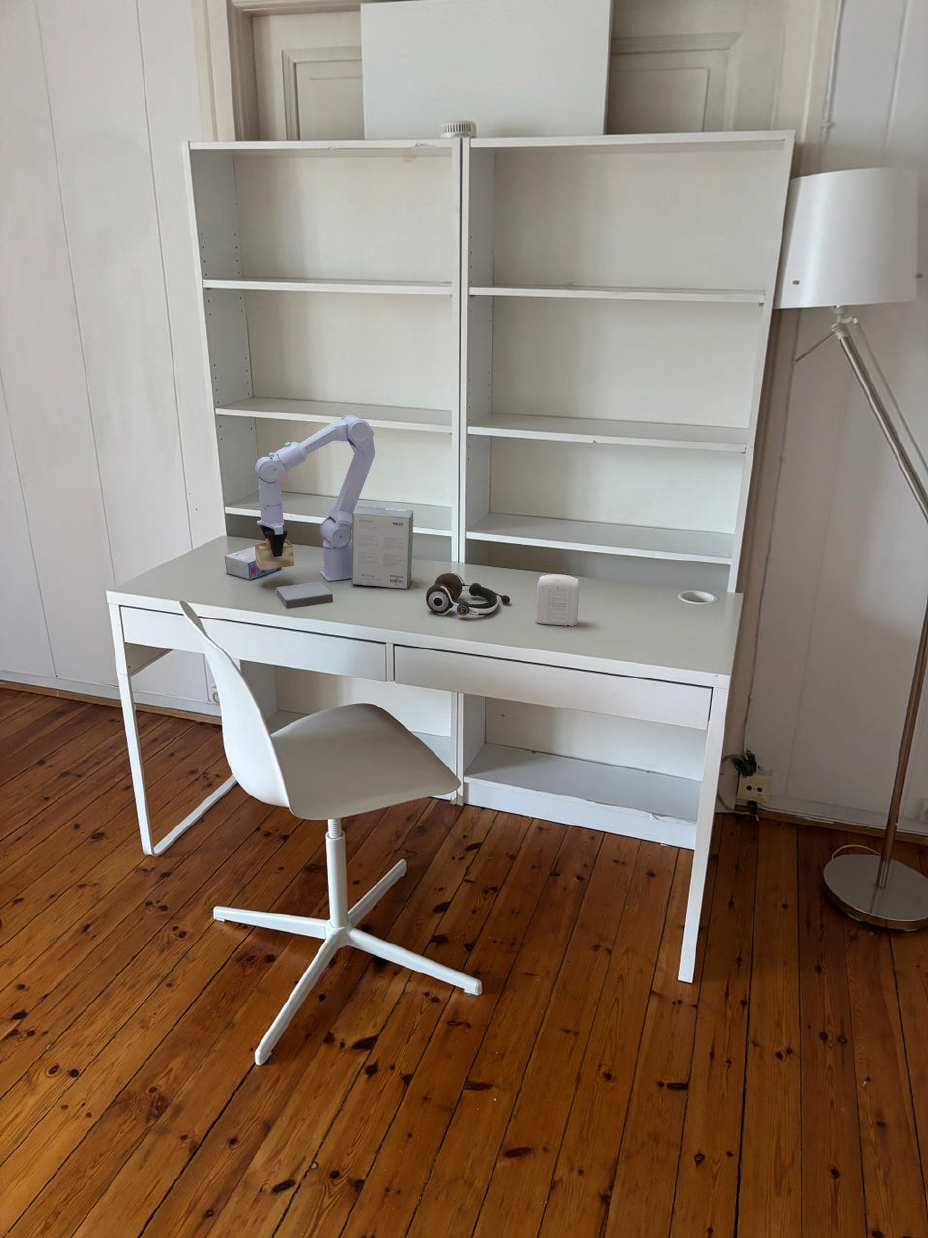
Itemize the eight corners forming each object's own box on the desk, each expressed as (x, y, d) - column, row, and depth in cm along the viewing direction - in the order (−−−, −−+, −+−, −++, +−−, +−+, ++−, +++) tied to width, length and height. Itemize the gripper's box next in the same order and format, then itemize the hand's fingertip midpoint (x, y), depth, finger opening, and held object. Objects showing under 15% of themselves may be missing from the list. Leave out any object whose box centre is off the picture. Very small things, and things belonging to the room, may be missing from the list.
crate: (278, 543, 242) (278, 536, 241) (281, 547, 239) (281, 540, 238) (266, 545, 241) (265, 538, 240) (268, 549, 238) (268, 541, 237)
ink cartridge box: (250, 581, 246) (288, 566, 257) (248, 562, 244) (287, 548, 255) (226, 574, 251) (264, 559, 262) (224, 555, 249) (262, 541, 260)
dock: (321, 588, 241) (320, 581, 240) (332, 601, 232) (332, 594, 231) (276, 594, 236) (276, 587, 236) (287, 608, 227) (286, 601, 227)
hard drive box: (411, 580, 247) (415, 510, 240) (407, 589, 240) (410, 518, 233) (356, 574, 249) (357, 504, 241) (350, 584, 241) (351, 512, 234)
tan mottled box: (289, 560, 246) (287, 539, 244) (294, 565, 241) (292, 545, 239) (256, 564, 242) (254, 543, 240) (260, 570, 238) (258, 549, 236)
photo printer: (577, 620, 221) (580, 573, 216) (577, 627, 217) (580, 579, 213) (536, 618, 223) (537, 570, 218) (534, 624, 219) (536, 576, 214)
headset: (441, 564, 235) (515, 581, 233) (437, 591, 238) (510, 608, 236) (424, 586, 220) (503, 604, 217) (420, 614, 223) (498, 633, 220)
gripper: (249, 498, 240) (254, 547, 245) (262, 512, 228) (266, 563, 233) (276, 496, 243) (279, 544, 248) (289, 509, 231) (293, 559, 236)
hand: (275, 553), depth 241 cm, fingers closed on tan mottled box, 5 cm apart
